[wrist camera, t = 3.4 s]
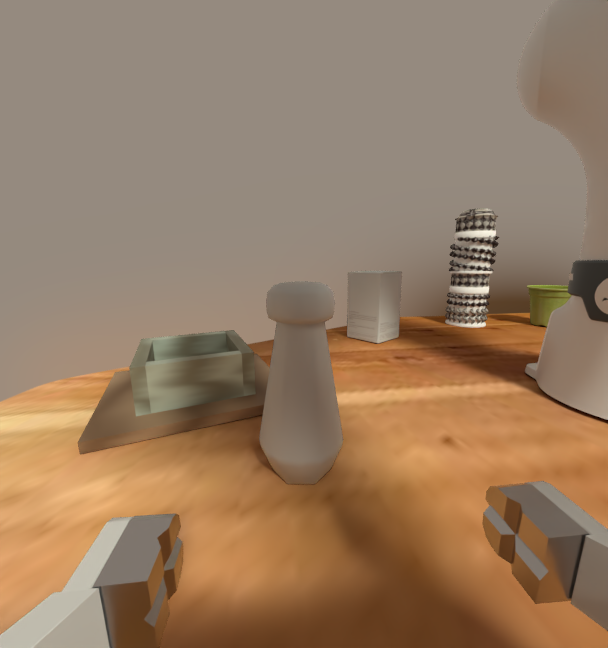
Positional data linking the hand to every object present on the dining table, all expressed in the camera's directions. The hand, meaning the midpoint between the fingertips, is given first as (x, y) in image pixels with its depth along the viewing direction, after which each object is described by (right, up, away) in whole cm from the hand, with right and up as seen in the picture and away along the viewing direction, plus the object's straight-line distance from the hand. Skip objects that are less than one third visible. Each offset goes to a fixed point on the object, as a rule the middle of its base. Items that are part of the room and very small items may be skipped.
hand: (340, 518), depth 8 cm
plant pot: (+54, +5, +58) cm, 80 cm away
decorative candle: (+37, +5, +61) cm, 71 cm away
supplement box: (+12, +2, +49) cm, 51 cm away
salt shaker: (-1, -5, +13) cm, 14 cm away
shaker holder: (-13, -3, +25) cm, 29 cm away
